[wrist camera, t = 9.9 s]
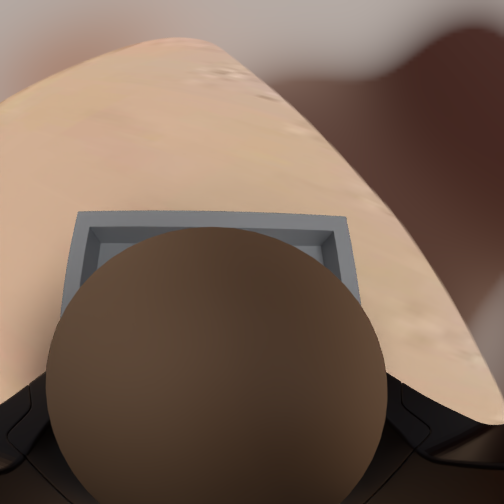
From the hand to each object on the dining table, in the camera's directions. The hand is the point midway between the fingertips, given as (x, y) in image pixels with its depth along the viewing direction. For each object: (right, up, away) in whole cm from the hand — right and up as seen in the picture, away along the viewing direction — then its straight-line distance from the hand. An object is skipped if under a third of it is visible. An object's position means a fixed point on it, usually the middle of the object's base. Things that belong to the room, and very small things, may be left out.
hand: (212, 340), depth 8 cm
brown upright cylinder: (-1, -4, +5) cm, 7 cm away
